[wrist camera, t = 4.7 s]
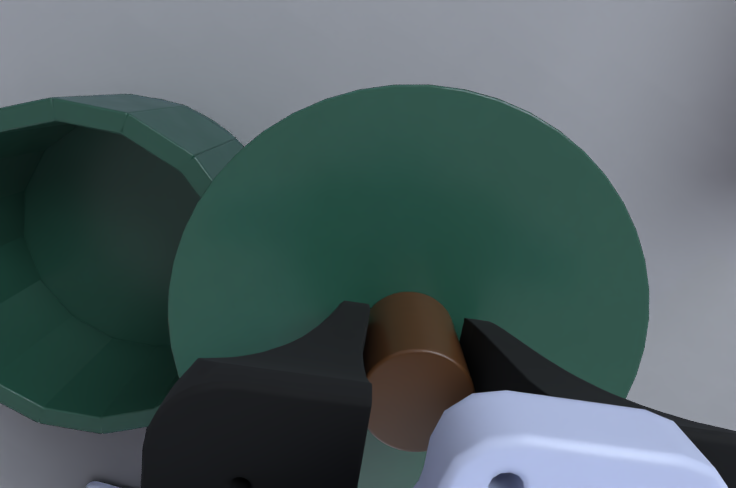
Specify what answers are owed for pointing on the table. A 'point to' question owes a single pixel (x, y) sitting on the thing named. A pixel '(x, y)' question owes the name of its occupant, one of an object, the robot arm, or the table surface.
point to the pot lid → (413, 252)
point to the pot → (95, 252)
